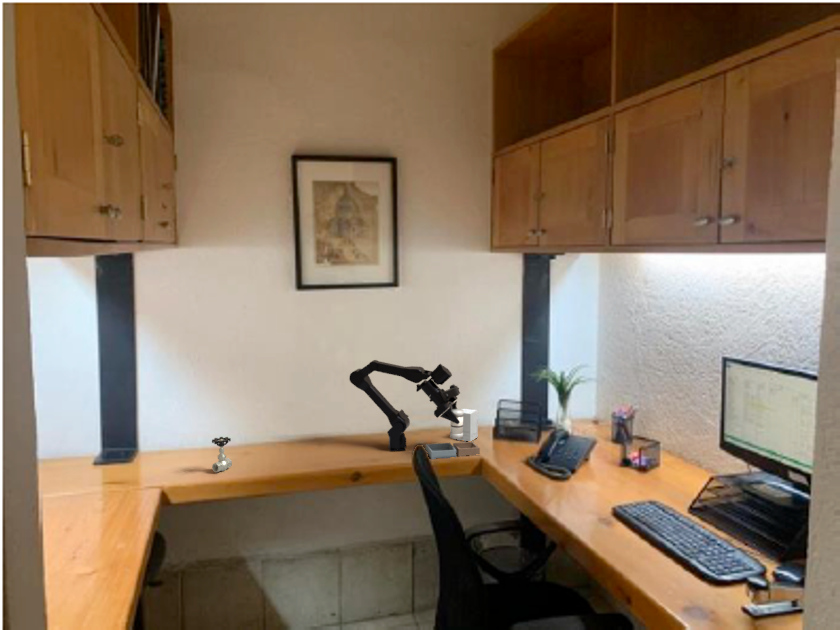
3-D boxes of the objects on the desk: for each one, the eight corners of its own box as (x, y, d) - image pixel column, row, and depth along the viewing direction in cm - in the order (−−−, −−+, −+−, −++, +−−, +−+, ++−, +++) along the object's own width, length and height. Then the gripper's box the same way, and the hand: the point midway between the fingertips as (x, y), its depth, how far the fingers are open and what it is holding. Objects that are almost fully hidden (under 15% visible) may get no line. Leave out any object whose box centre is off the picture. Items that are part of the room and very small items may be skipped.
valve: (209, 472, 236) (208, 440, 235) (222, 466, 242) (221, 435, 241) (222, 474, 233) (221, 442, 232) (235, 469, 239) (234, 438, 237)
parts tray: (431, 459, 250) (431, 451, 249) (426, 451, 259) (426, 444, 259) (456, 457, 252) (456, 450, 252) (449, 449, 262) (449, 442, 261)
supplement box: (478, 438, 278) (478, 410, 276) (470, 442, 271) (470, 413, 270) (463, 435, 282) (463, 407, 280) (455, 440, 275) (455, 411, 274)
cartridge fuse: (452, 439, 254) (452, 412, 252) (448, 435, 259) (449, 409, 257) (464, 438, 255) (465, 411, 254) (460, 435, 260) (461, 408, 259)
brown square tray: (458, 456, 253) (458, 449, 252) (453, 450, 261) (453, 443, 261) (479, 455, 255) (479, 447, 254) (473, 448, 263) (473, 441, 263)
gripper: (442, 384, 246) (470, 414, 245) (453, 375, 264) (478, 403, 262) (422, 402, 249) (449, 432, 247) (434, 392, 267) (459, 420, 265)
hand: (460, 421), depth 256 cm, fingers closed on cartridge fuse, 5 cm apart
